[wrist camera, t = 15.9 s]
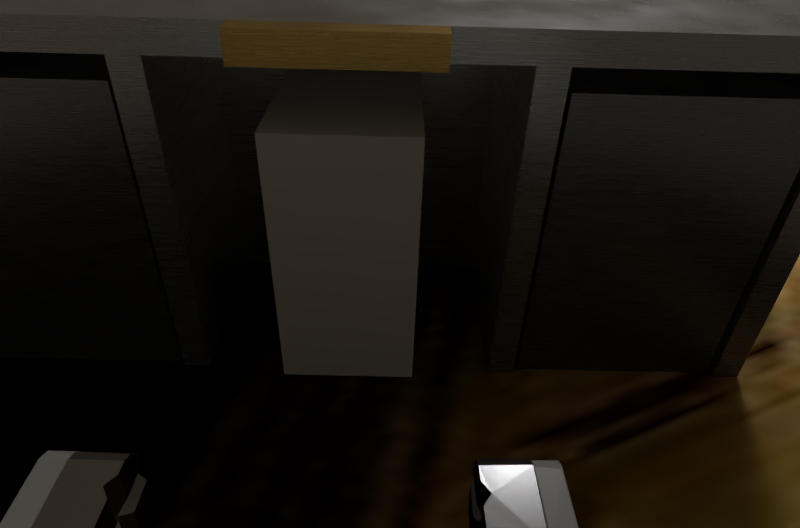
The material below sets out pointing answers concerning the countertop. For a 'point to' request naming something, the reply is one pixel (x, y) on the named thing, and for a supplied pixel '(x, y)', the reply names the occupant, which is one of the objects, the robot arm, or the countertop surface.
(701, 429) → the countertop surface
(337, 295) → the tall grey upright block
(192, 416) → the countertop surface
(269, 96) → the miniature grey desk
